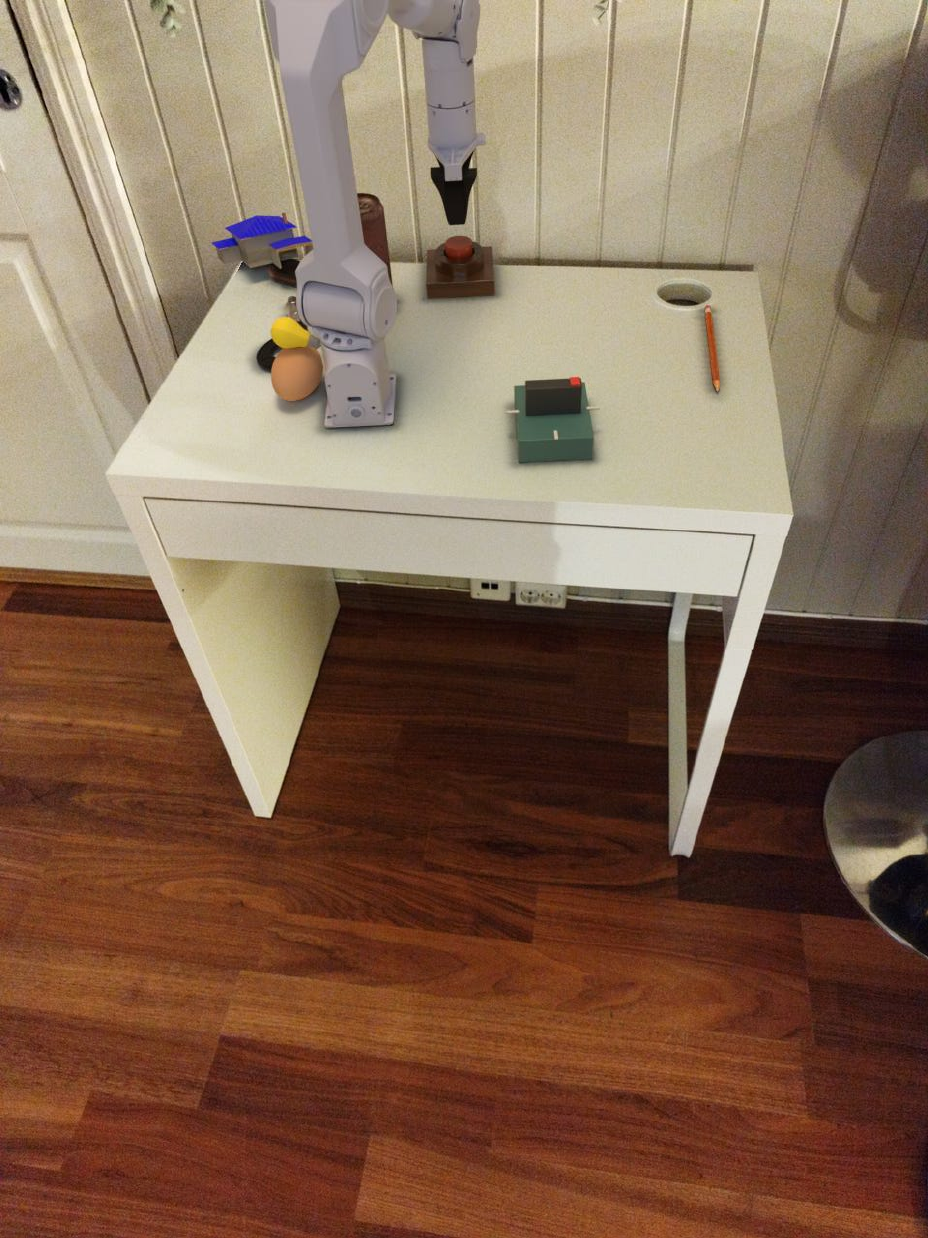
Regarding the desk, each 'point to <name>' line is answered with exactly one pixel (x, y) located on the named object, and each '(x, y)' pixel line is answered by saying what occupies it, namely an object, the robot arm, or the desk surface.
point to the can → (374, 227)
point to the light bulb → (292, 334)
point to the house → (261, 242)
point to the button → (458, 247)
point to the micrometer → (270, 346)
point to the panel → (553, 432)
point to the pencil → (712, 347)
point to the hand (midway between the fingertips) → (456, 211)
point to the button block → (460, 273)
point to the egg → (296, 372)
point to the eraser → (285, 271)
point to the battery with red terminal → (553, 396)
